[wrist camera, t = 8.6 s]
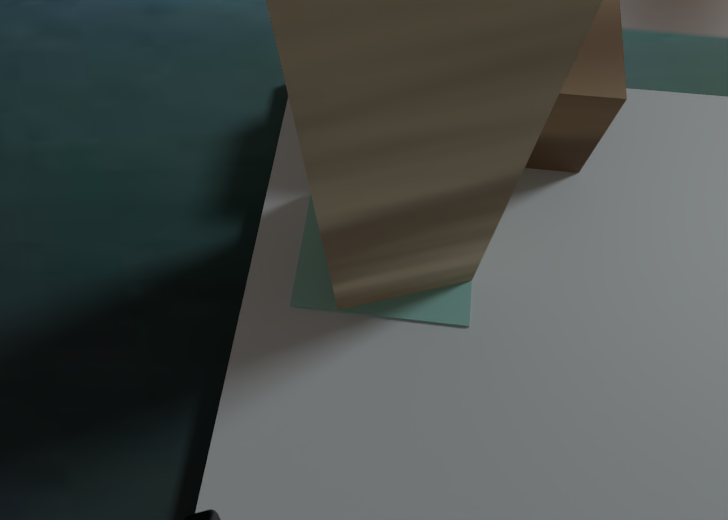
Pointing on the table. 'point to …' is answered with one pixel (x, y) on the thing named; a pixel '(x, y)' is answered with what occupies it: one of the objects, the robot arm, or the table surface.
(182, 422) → the table surface
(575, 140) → the cube
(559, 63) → the pillar
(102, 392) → the table surface
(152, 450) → the table surface
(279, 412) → the board
